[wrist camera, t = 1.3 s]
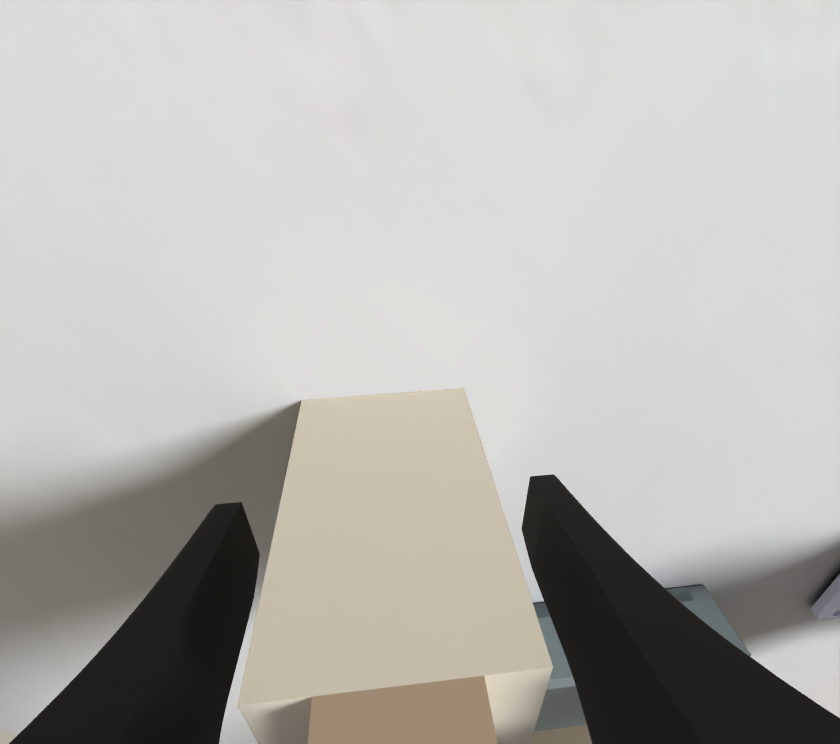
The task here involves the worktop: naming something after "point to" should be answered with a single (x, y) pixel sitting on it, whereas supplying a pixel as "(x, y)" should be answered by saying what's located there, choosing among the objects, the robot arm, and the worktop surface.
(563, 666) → the tray
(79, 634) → the worktop surface
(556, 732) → the tan stepped block
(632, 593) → the robot arm
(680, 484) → the worktop surface
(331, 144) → the worktop surface
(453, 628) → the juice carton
